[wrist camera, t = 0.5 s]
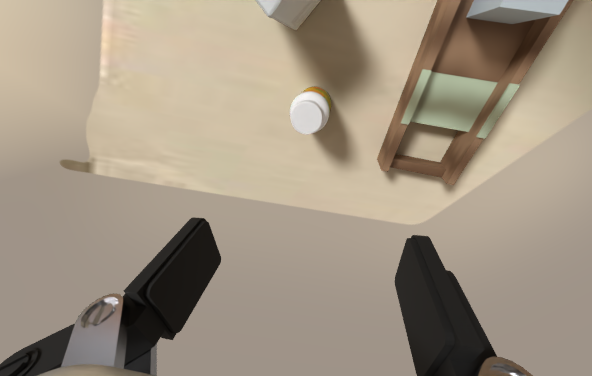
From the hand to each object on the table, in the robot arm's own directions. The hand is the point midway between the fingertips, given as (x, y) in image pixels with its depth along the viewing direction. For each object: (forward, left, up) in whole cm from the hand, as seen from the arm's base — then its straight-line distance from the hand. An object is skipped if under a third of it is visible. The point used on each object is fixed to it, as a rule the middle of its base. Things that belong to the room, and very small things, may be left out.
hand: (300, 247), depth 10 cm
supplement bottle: (-1, -3, -29) cm, 29 cm away
